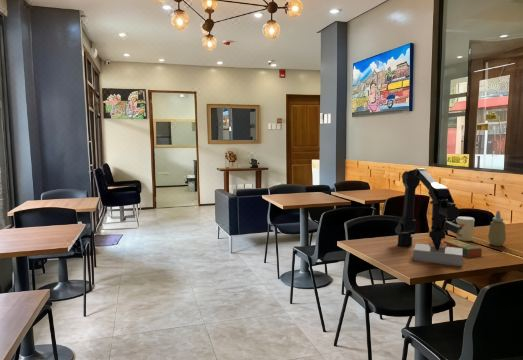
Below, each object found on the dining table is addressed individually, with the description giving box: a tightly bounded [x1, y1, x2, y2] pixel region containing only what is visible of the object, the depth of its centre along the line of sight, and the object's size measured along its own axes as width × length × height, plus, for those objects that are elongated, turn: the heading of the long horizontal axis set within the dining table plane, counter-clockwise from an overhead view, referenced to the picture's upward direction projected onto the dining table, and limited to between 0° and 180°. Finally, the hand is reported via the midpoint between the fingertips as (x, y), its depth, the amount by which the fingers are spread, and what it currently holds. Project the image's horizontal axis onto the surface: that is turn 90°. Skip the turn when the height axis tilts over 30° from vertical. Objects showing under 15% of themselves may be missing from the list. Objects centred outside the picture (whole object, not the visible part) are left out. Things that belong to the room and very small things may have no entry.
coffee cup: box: [455, 215, 476, 242], centre depth 216 cm, size 9×9×12 cm
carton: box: [443, 239, 483, 258], centre depth 192 cm, size 8×16×4 cm, turn 16°
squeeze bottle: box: [487, 210, 507, 247], centre depth 203 cm, size 8×8×18 cm
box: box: [412, 250, 463, 267], centre depth 180 cm, size 20×12×4 cm, turn 63°
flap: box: [413, 241, 463, 257], centre depth 179 cm, size 20×12×5 cm, turn 63°
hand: (437, 249), depth 175 cm, fingers closed on flap, 2 cm apart
